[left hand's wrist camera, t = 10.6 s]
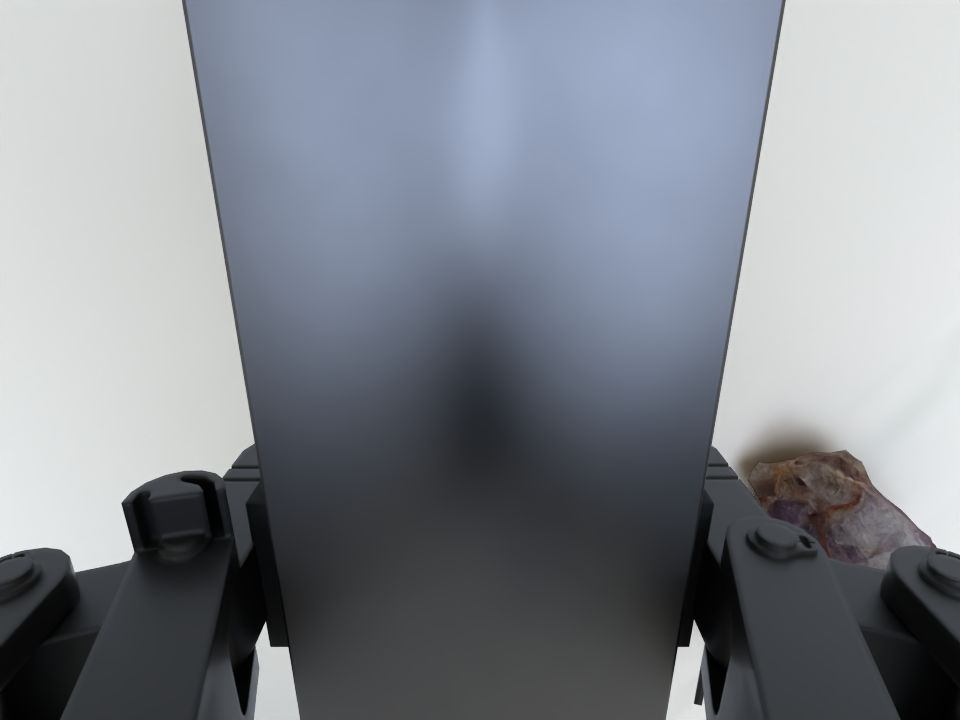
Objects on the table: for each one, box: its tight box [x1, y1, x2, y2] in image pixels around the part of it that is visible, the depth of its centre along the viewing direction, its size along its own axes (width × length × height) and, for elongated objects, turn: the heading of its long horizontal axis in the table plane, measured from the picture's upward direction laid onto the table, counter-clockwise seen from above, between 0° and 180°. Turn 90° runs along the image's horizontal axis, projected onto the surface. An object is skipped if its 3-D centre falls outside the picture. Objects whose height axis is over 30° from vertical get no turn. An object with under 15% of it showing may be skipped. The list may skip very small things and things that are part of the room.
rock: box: [747, 450, 936, 570], centre depth 28 cm, size 12×8×10 cm
